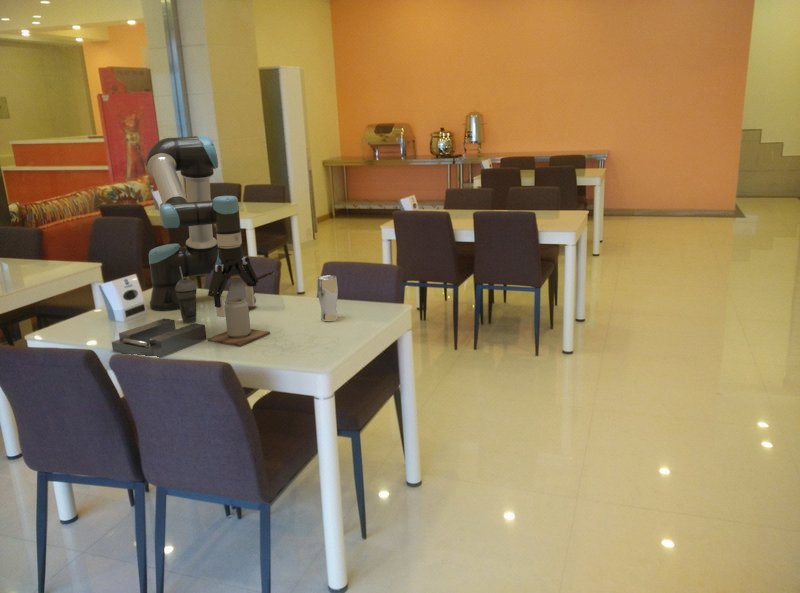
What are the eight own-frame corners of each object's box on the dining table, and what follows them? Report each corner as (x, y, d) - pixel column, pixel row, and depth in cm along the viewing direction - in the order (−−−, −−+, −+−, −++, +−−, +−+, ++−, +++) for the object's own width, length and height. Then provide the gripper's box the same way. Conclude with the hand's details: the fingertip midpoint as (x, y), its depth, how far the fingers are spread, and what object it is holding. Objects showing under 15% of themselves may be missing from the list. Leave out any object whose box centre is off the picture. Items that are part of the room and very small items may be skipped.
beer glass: (316, 321, 239) (313, 279, 236) (324, 316, 246) (321, 274, 242) (334, 322, 237) (332, 280, 234) (342, 317, 244) (340, 275, 240)
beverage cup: (197, 324, 242) (190, 268, 237) (176, 324, 242) (169, 268, 237) (202, 318, 249) (196, 263, 244) (182, 319, 249) (175, 264, 244)
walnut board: (207, 341, 223) (207, 338, 222) (238, 329, 234) (238, 326, 234) (240, 346, 216) (240, 344, 215) (270, 334, 227) (269, 331, 227)
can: (245, 338, 221) (241, 302, 218) (223, 338, 222) (219, 302, 219) (254, 331, 228) (251, 296, 225) (233, 331, 229) (229, 296, 226)
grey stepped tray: (112, 351, 216) (110, 335, 215) (165, 332, 234) (164, 318, 232) (154, 359, 207) (152, 343, 205) (206, 339, 224) (205, 324, 223)
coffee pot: (220, 312, 256) (215, 272, 252) (234, 304, 267) (230, 266, 263) (273, 314, 251) (269, 273, 247) (286, 305, 262) (282, 267, 258)
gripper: (209, 254, 205) (216, 323, 211) (265, 239, 226) (270, 302, 231) (191, 252, 209) (199, 320, 214) (248, 238, 230) (253, 300, 235)
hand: (236, 311), depth 223 cm, fingers open, 13 cm apart
